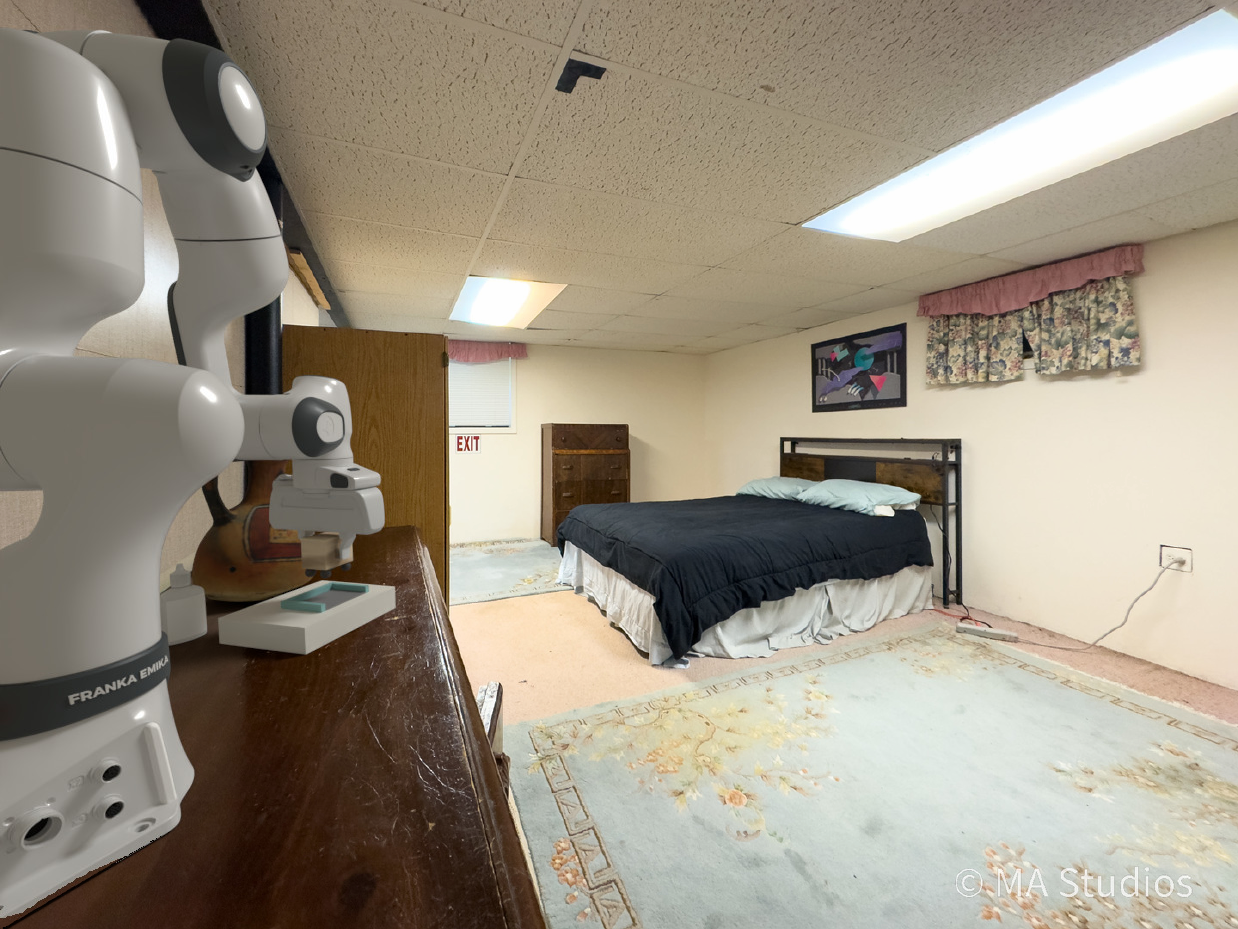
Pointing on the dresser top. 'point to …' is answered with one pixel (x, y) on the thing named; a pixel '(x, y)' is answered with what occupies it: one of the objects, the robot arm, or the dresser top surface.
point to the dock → (306, 616)
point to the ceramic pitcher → (248, 543)
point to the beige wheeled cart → (322, 554)
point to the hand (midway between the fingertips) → (327, 557)
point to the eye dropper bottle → (183, 608)
